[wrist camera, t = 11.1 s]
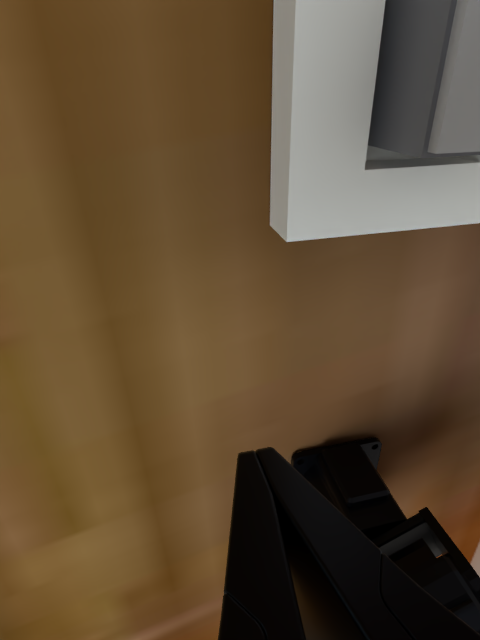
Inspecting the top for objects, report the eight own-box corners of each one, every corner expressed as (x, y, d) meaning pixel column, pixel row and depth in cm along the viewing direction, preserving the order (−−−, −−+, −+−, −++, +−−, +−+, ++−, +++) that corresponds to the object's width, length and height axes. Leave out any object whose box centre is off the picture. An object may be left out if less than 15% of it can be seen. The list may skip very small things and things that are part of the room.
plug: (439, 139, 19) (528, 155, 15) (360, 143, 18) (429, 160, 14) (467, 5, 17) (583, -23, 12) (377, 2, 16) (467, -28, 12)
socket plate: (485, 206, 22) (522, 218, 20) (269, 225, 20) (286, 241, 18) (569, -103, 16) (636, -132, 14) (275, -126, 14) (301, -164, 12)
